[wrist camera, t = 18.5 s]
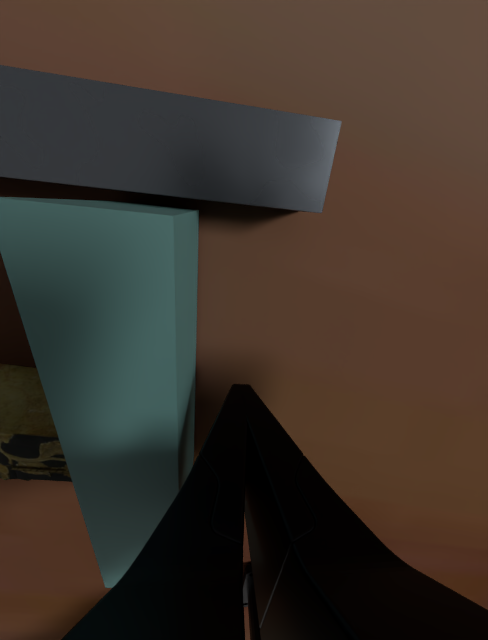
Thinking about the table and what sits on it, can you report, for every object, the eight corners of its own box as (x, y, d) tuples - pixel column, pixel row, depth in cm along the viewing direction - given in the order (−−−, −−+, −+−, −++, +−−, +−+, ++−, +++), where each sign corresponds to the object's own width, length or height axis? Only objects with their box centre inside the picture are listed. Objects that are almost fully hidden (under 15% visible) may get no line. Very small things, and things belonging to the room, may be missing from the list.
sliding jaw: (193, 455, 13) (180, 582, 9) (144, 456, 13) (105, 588, 8) (198, 209, 8) (173, 215, 4) (117, 201, 8) (-17, 196, 3)
